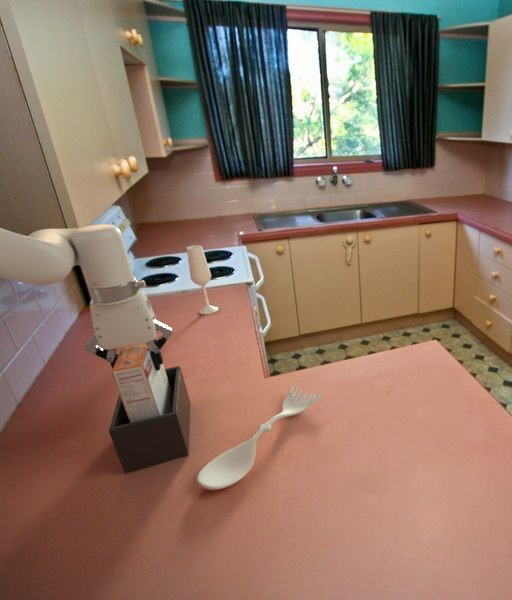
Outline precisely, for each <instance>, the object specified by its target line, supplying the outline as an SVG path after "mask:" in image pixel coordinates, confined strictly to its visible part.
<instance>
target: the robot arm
mask: <svg viewBox="0 0 512 600" xmlns="http://www.w3.org/2000/svg"><path fill="white" fill-rule="evenodd" d="M75 266H79V267H81V270H82V273H83V276H84V279H85V282H86V284H87V288H88V291H89V293H90V296H91V300H90V301H89V310H90V318H91V322H92V328H93V332H94V333H93V334H92V336H91V337H90V338H89V340H88V341H87V342H86V343H85V345H84V347H83V350H84V351H85V352H88V353H91V354H92V355H95V356H96V357H99V358H101V359H104V360H105V361H106V362H107V363H110V367H111V370H112V369H113V367H114V364H115V362H116V360H117V358H118V355H119V354H118V353H117V351H118V349H121V348H122V347H127V346H133V345H138V344H143V343H146V345H147V346H148V347H149V348H150V349H151V350H152V353H151V357H152V360H153V363H154V366H155V370H157V371H158V370H160V366H161V364H163V365H164V359H163V354H162V352H161V349H162V348H163V347H164V346H165V344H166V343H167V341H168V340H169V339H170V337H172V335H173V334H174V329H173V328H172V327H171V326H168V325H166V324H164V323H162V322H161V321H158V320H157V318H156V315H155V312H154V309H153V307H152V305H151V302H150V300H149V298H148V297H147V294H146V293H145V291H144V290H142V289H143V288H146V287H147V284H146V281H145V280H138V279H137V277H136V276H135V274H134V270H133V267H132V264H131V261H130V256H129V253H128V249H127V246H126V244H125V240H124V237H123V234H122V231H121V229H120V228H119V227H117V226H116V225H114V224H108V223H104V224H103V223H101V224H92V225H87V226H83V227H79V228H78V227H77V228H42V229H37V230H35V231H33V232H32V233H30V234H29V235H24V234H21V233H17V232H14V231H11V230H7V229H4V228H2V227H0V278H3V279H7V280H11V281H15V282H19V283H24V284H30V285H37V286H39V285H41V286H45V285H46V286H47V285H48V286H49V285H52V284H58V283H59V282H61V281H63V280H65V279H66V278H67V277H68V276H69V275H70V273H71V271H72V269H73V268H74V267H75ZM140 289H141V290H140ZM157 332H160V333H161V335H160V337H159V338H158V334H157ZM157 338H158V339H157ZM97 344H98V345H97Z"/></svg>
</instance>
